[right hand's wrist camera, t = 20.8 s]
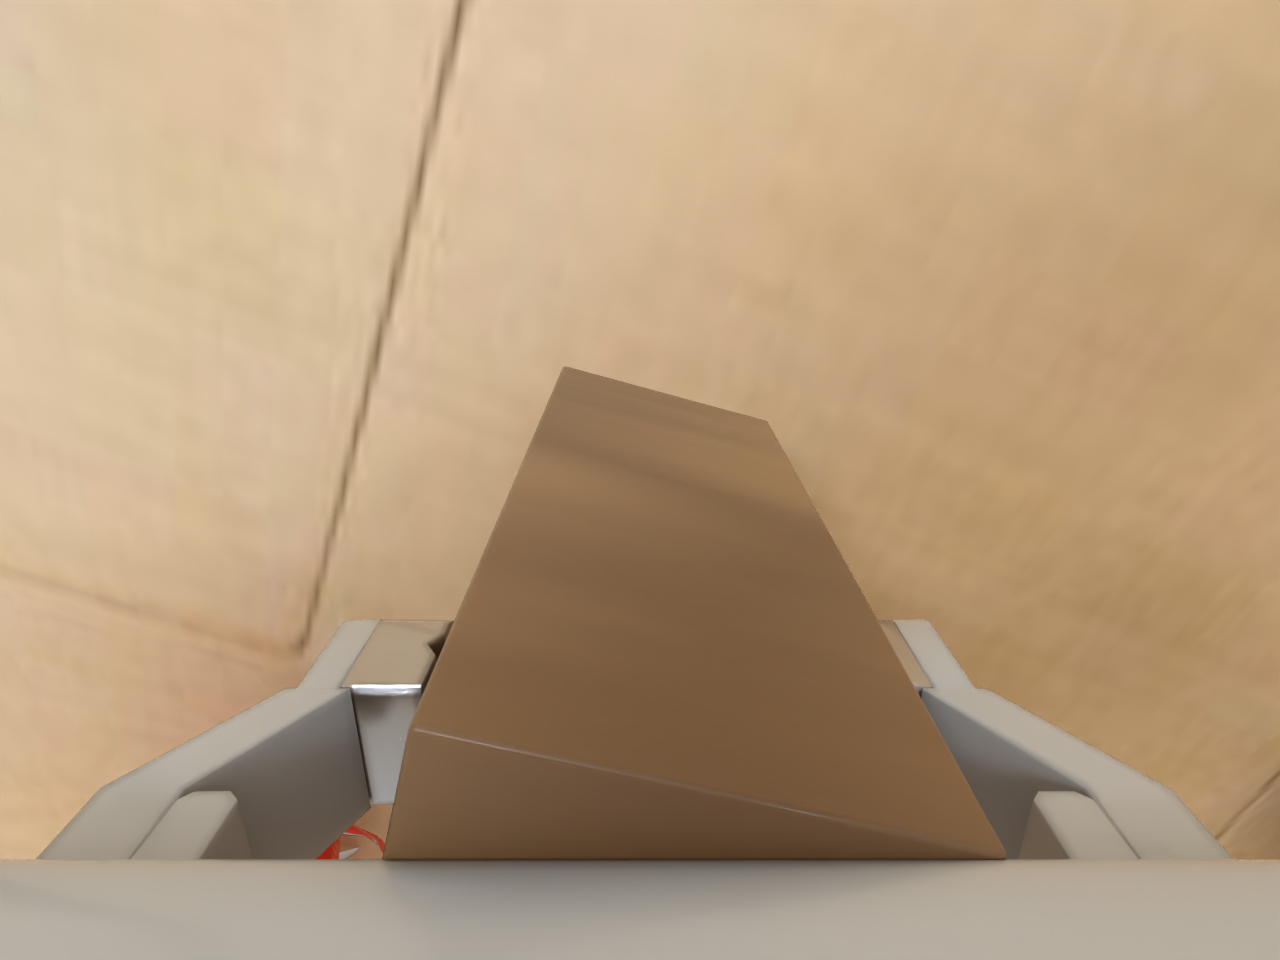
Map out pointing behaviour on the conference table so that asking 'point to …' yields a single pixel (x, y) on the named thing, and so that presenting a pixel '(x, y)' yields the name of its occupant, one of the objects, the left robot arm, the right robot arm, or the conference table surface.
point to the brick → (671, 666)
